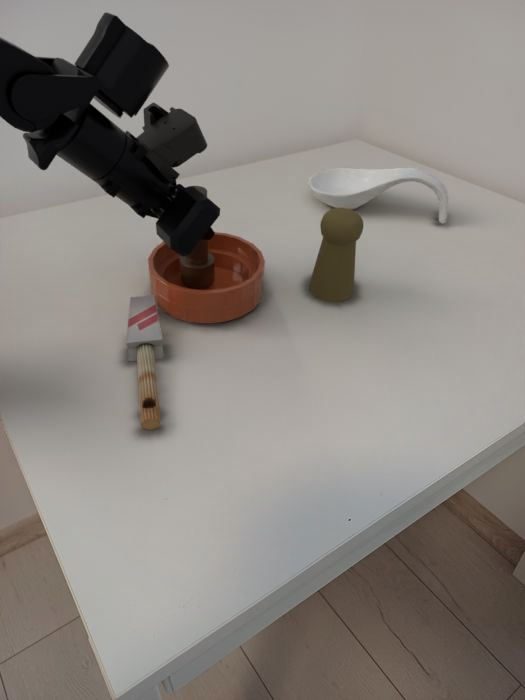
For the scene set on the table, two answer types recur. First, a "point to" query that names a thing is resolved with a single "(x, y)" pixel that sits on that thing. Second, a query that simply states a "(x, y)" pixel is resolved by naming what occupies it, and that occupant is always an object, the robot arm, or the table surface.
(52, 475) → the table surface
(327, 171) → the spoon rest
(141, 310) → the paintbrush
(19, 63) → the robot arm
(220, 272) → the bowl
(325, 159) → the table surface
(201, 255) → the pestle
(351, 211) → the olive game pawn
